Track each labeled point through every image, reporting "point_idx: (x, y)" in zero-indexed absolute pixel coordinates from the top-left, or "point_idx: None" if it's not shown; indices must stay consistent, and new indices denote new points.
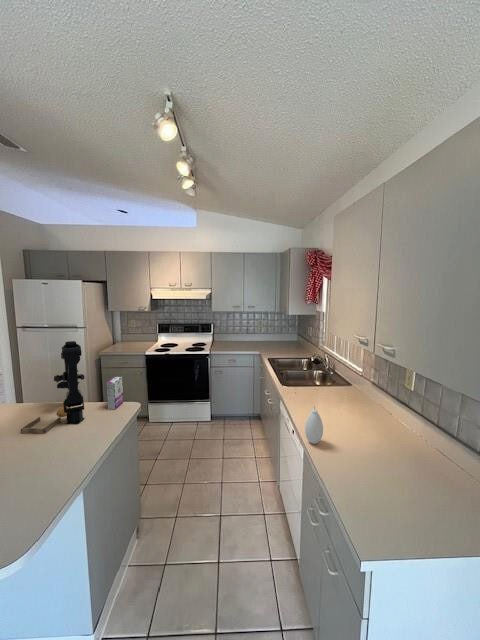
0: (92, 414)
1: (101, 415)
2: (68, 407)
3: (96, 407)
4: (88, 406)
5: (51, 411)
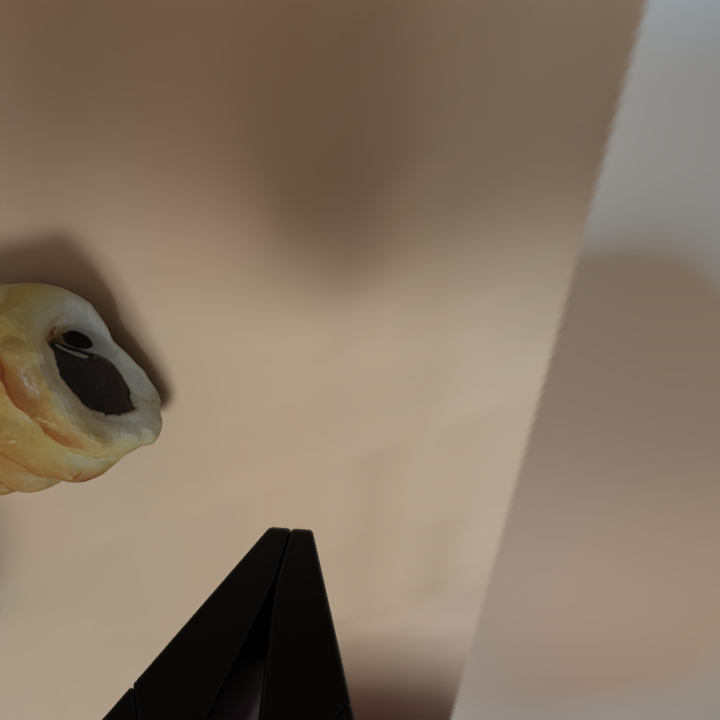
0: (135, 638)
1: None
2: (42, 474)
3: None
4: (363, 544)
5: (131, 40)
